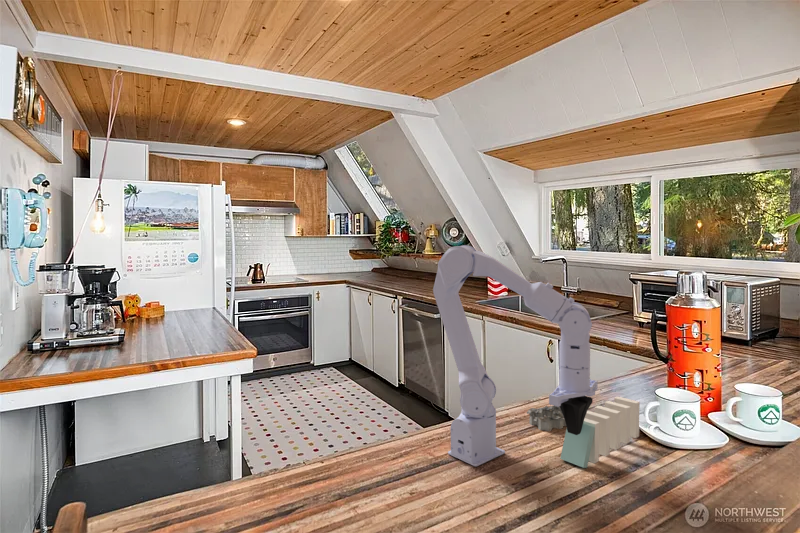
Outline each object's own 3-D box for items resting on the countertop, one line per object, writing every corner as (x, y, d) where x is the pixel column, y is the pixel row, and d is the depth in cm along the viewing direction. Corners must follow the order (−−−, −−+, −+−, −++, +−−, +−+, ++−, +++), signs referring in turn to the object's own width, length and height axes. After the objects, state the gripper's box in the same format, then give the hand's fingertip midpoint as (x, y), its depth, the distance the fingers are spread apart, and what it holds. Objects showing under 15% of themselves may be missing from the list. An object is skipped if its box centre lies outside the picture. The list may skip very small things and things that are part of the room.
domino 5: (626, 444, 106) (626, 408, 106) (604, 437, 110) (604, 402, 109) (629, 442, 107) (630, 406, 107) (607, 435, 111) (608, 400, 110)
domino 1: (583, 467, 95) (591, 426, 96) (560, 458, 98) (568, 419, 100) (587, 468, 96) (595, 427, 97) (564, 459, 99) (572, 420, 101)
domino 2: (594, 463, 97) (595, 424, 97) (571, 455, 101) (572, 417, 101) (598, 461, 98) (599, 422, 98) (576, 452, 102) (576, 415, 102)
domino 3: (605, 456, 100) (606, 418, 100) (583, 448, 104) (583, 412, 104) (609, 454, 101) (610, 416, 101) (587, 446, 105) (587, 410, 105)
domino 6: (635, 438, 109) (636, 403, 108) (613, 431, 113) (614, 397, 112) (639, 436, 110) (639, 401, 109) (617, 429, 114) (617, 396, 113)
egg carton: (542, 433, 113) (542, 416, 113) (524, 422, 120) (524, 405, 120) (580, 427, 116) (580, 410, 116) (561, 416, 123) (561, 400, 123)
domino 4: (616, 450, 103) (616, 413, 103) (594, 442, 107) (594, 407, 106) (620, 448, 104) (620, 411, 104) (597, 440, 108) (598, 405, 108)
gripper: (572, 377, 88) (572, 450, 89) (612, 362, 97) (611, 428, 98) (539, 369, 93) (539, 438, 94) (579, 356, 103) (579, 419, 104)
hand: (574, 432), depth 97 cm, fingers closed
